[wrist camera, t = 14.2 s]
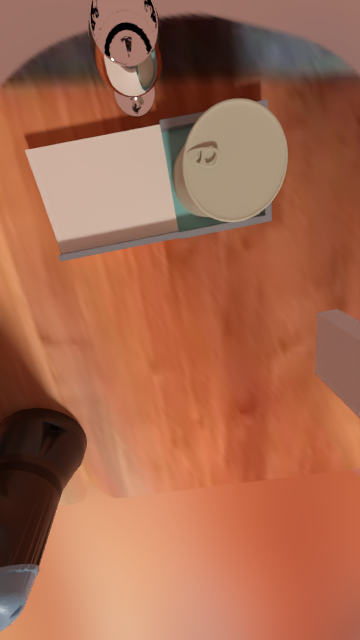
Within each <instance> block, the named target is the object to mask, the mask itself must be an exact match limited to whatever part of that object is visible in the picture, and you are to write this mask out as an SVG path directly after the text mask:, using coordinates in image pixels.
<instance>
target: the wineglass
mask: <svg viewBox="0 0 360 640" xmlns="http://www.w3.org/2000/svg"><path fill="white" fill-rule="evenodd" d="M88 30H89V41H90V48H91V52H92V57H93V60H94V63H95V65H96V68H97V70H98V72H99V74H100V75H101V77H102V78H103V80H104V81H105V82H106V84H107V85H108V86H109V87H110V88H111V89H112V90H113V91H114V96H115V99H116V102H117V104H118V106H119V107H120V108H121V110H122V111H123V112H125V113H126V114H128V115H130V116H133V117H140V116H143V115H145V114H146V113H148V112H149V110H150V109H151V108H152V106H153V103H154V98H155V88H154V86H155V84H156V82H157V81H158V79H159V76H160V73H161V71H162V67H163V62H164V39H163V33H162V28H161V23H160V20H159V17H158V14H157V11H156V8H155V6H154V3H153V1H152V0H91V2H90V8H89V24H88Z"/></svg>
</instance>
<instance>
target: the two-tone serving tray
mask: <svg viewBox="0 0 360 640" xmlns="http://www.w3.org/2000/svg"><path fill="white" fill-rule="evenodd" d="M257 102H258V103H260V104H262V105H263V106H265V107H266V108H267V109H268V99H267V100H262V101H257ZM204 112H205V111H204ZM204 112H199V113H194V114H189V115H183V116H178V117H173V118H167V119H162V120H159V125H154V126H149V127H144V128H138V129H133V130H128V131H123V132H117V133H112V134H107V135H102V136H96V137H91V138H86V139H81V140H76V141H70V142H65V143H60V144H55V145H49V146H44V147H39V148H34V149H28V150H25V152H26V155H27V157H28V160H29V163H30V166H31V169H32V171H33V174H34V177H35V180H36V183H37V185H38V188H39V191H40V194H41V197H42V200H43V202H44V205H45V208H46V211H47V214H48V216H49V219H50V222H51V225H52V228H53V230H54V233H55V236H56V239H57V242H58V244H59V247H60V250H61V253H62V254H60V255H59V259H60V261H65V260H70V259H75V258H80V257H85V256H90V255H95V254H100V253H105V252H110V251H115V250H120V249H125V248H130V247H135V246H140V245H145V244H150V243H155V242H160V241H165V240H170V239H175V238H180V239H183V238H188V237H193V236H198V235H203V234H208V233H213V232H218V231H223V230H228V229H233V228H238V227H243V226H248V225H253V224H258V223H263V222H269V221H272V210H271V203H270V204H269V205H268V206H267V207H266V208H265V209H264V210H262V211H261V212H260V213H259V214H257V215H255V216H254V217H251V218H249V219H246V220H243V221H239V222H223V221H219V220H216V219H213V218H204V217H199V216H196V215H194V214H192V213H190V212H189V211H187V210H186V209H185V208H184V207H183V206H182V205H181V203H180V202H179V200H178V199H177V197H176V194H175V192H174V189H173V183H172V170H173V165H174V162H175V159H176V156H177V154H178V153H179V151H180V150H181V148H182V147H183V146H184V145H185V143H186V140H187V137H188V135H189V133H190V131H191V129H192V127H193V126H194V124H195V123H196V121H197V120H198V119H199V117H200V116H201V115H202V114H203V113H204Z"/></svg>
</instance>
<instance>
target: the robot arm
mask: <svg viewBox="0 0 360 640" xmlns="http://www.w3.org/2000/svg"><path fill="white" fill-rule="evenodd" d="M315 374H316V375H317V376H318V377H319V378H320V379H321V380H322V381H323V382H324V383H325V384H326V385H327V386H328V387H329V388H330V389H331V390H332V391H333V392H334V393H335V394H336V395H337V396H338V397H339V398H340V399H341V400H342V401H343V402H344V403H345V404H346V405H347V406H348V407H349V408H350V409H351V410H352V411H353V412H354V413H355V414H356V415H357V416H358V417H359V418H360V321H358V320H357V319H355V318H353V317H351V316H349V315H347V314H345V313H344V312H342V311H340V310H338V309H335V310H330V311H325V312H320V313H317V336H316V368H315ZM86 446H87V440H86V436H85V433H84V431H83V430H82V428H81V427H80V426H79V424H78V423H77V422H75V421H74V420H73V419H71V418H70V417H68V416H66V415H64V414H62V413H60V412H57V411H53V410H48V409H26V410H22V411H19V412H16V413H14V414H12V415H10V416H8V417H7V418H6V419H5V420H3V422H2V423H1V424H0V631H2V630H3V629H5V628H6V627H7V626H9V625H10V624H11V623H12V622H13V621H14V620H15V619H16V618H17V617H18V616H19V615H20V613H21V611H22V610H23V608H24V606H25V604H26V601H27V599H28V596H29V593H30V591H31V588H32V586H33V583H34V580H35V578H36V575H37V574H38V572H39V565H40V562H41V558H42V555H43V552H44V549H45V545H46V542H47V539H48V535H49V532H50V529H51V526H52V522H53V519H54V516H55V513H56V510H57V506H58V503H59V500H60V497H61V494H62V491H63V489H64V488H65V486H66V485H67V483H68V482H69V480H70V479H71V477H72V476H73V474H74V472H75V471H76V470H77V469H78V467H79V466H80V465H81V463H82V460H83V458H84V454H85V450H86Z"/></svg>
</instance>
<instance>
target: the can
mask: <svg viewBox="0 0 360 640" xmlns="http://www.w3.org/2000/svg"><path fill="white" fill-rule="evenodd" d="M287 161H288V150H287V142H286V138H285V134H284V132H283V129H282V127H281V125H280V123H279V121H278V120H277V118H276V117H275V116H274V114H273V113H272V112H271V111H270V110H268V109H267V108H266V107H265V106H263V105H262V104H260V103H258V102H256V101H253V100H250V99H245V98H234V99H228V100H225V101H222V102H219V103H217V104H215V105H214V106H212V107H210V108H209V109H208V110H207V111H205V112H204V113H203V114H202V115H201V116H200V117H199V119H198V120H197V121H196V123H195V124H194V126H193V127H192V129H191V131H190V133H189V135H188V137H187V140H186V143H185V145H184V146H183V147H182V148H181V150H180V151H179V153H178V154H177V156H176V159H175V162H174V165H173V170H172V183H173V189H174V192H175V194H176V197H177V199H178V200H179V202H180V203H181V205H182V206H183V207H184V208H185V209H186V210H187V211H189V212H190V213H192V214H194V215H196V216H199V217H204V218H213V219H216V220H219V221H223V222H239V221H243V220H246V219H249V218H251V217H254V216H255V215H257V214H259V213H260V212H261V211H262V210H264V209H265V208H266V207H267V206H268V205H269V204H270V203H271V202H272V200H273V199H274V198H275V196H276V195H277V193H278V191H279V190H280V188H281V185H282V183H283V180H284V177H285V174H286V169H287Z"/></svg>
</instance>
